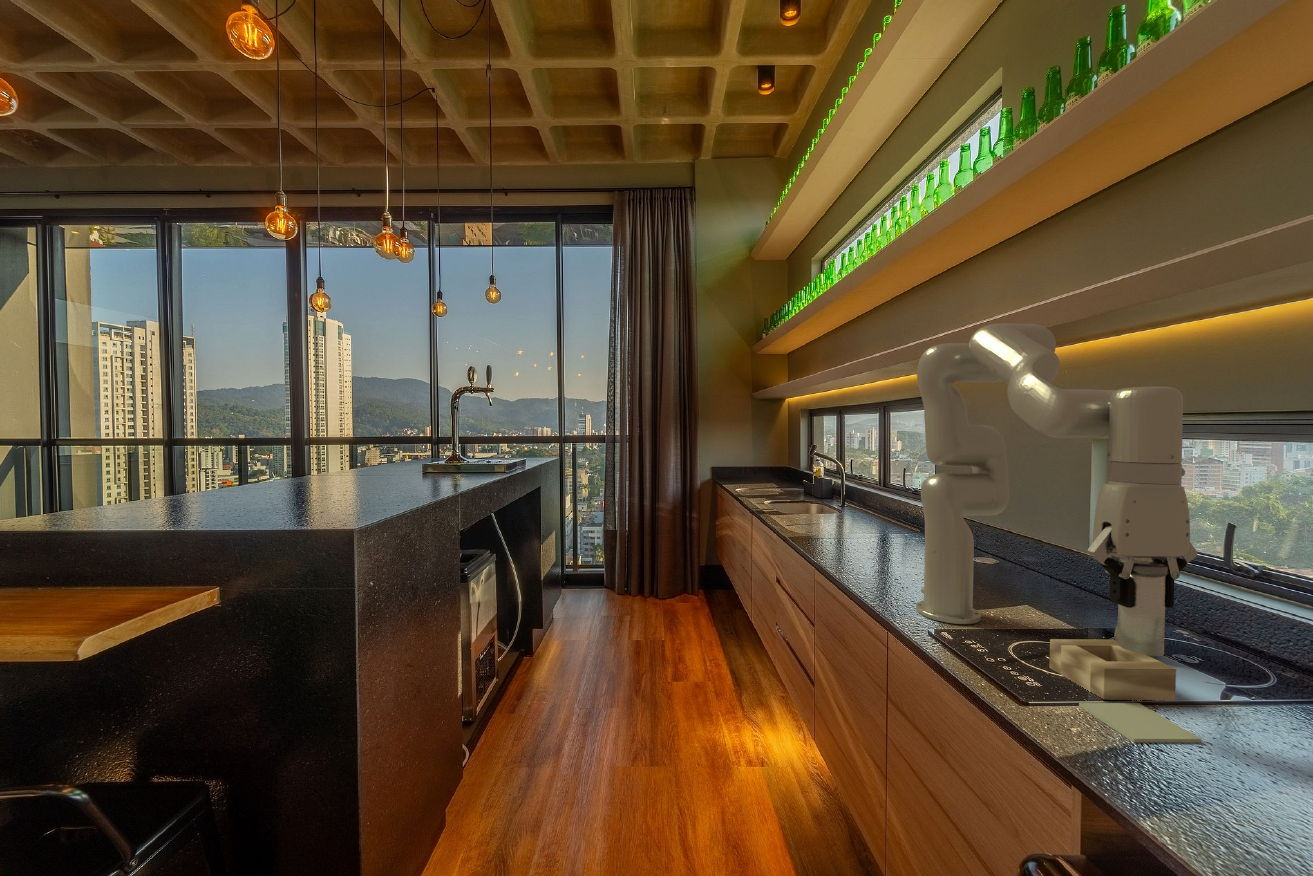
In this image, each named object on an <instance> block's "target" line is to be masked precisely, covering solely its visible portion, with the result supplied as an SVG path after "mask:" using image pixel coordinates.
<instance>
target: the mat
mask: <svg viewBox="0 0 1313 876" xmlns="http://www.w3.org/2000/svg"><path fill="white" fill-rule="evenodd" d="M1078 707H1080V708H1082V710H1084V711H1086V712H1087V713H1089V714H1090V715H1092V716H1093V717H1095V718H1096V719H1097V720H1099V721H1101V722H1103V724H1106V726H1108V727H1110V728H1111V729H1112V730H1114V731H1116V732H1117V733H1119V734H1120V735H1122V736H1123V737H1125V738H1126V739H1128V740H1129V741H1131V742H1132V743H1155V744H1156V743H1159V744H1160V743H1165V744H1166V743H1172V744H1173V743H1174V744H1176V743H1177V744H1178V743H1180V744H1181V743H1183V744H1186V743H1187V744H1188V743H1189V744H1190V743H1191V744H1192V743H1194V744H1195V743H1196V744H1197V743H1199V744H1202V738H1201V737H1198V736H1197V735H1195V734H1193V733H1192V732H1190V731H1188V730H1186V729H1185V728H1183V727H1182V726H1180V725H1178V724H1176V723H1174V722H1173V721H1171V720H1170V719H1167V718H1165V717H1164V716H1161V715H1160V714H1158V713H1157V712H1155V711H1153V710H1152V709H1150V708H1149V707H1146V706H1145V705H1143V704H1142V703H1139V702H1079V703H1078Z"/></svg>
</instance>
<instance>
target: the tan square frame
mask: <svg viewBox="0 0 1313 876" xmlns="http://www.w3.org/2000/svg"><path fill="white" fill-rule="evenodd" d="M1048 665H1049V666H1048V667H1049V668H1050V669H1051V670H1052V671H1054V672H1056V673H1057V674H1059V675H1060V676H1062V677H1064V678H1066V679H1067V680H1068V681H1070V680H1071V682H1072V683H1073V684H1075V683H1076V686H1078V685H1079V686H1078V687H1080V686H1081V687H1080V688H1082V687H1083V688H1084V690H1085V689H1086V690H1085V691H1087V690H1088V691H1089V692H1088V691H1087V692H1088V693H1090V692H1092V693H1093V694H1096V695H1097V696H1099V697H1101V698H1103V699H1108V700H1109V699H1110V700H1132V701H1131V702H1143V701H1142V700H1161V701H1160V702H1176V689H1177V688H1176V686H1177V685H1176V683H1177V669H1176V668H1175V667H1172V666H1170V665H1168V664H1166V663H1164V662H1162V661H1160V660H1157V659H1155V657H1153V658H1151V657H1149V656H1147V655H1144V654H1139V653H1135V652H1132V651H1129V650H1126V649H1124V648H1122V647H1120V646H1119V645H1118V642H1117V641H1115V639H1100V638H1099V639H1095V638H1093V639H1092V638H1091V639H1086V638H1084V639H1082V638H1081V639H1078V638H1075V639H1074V638H1073V639H1072V638H1071V639H1070V638H1069V639H1066V638H1064V639H1063V638H1062V639H1060V638H1058V639H1057V638H1051V639H1050V638H1049V664H1048ZM1083 688H1082V689H1083ZM1093 694H1092V695H1093ZM1134 700H1135V701H1134ZM1136 700H1137V701H1136ZM1140 700H1141V701H1140ZM1163 700H1164V701H1163Z"/></svg>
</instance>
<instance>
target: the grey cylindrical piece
mask: <svg viewBox="0 0 1313 876" xmlns="http://www.w3.org/2000/svg"><path fill="white" fill-rule="evenodd" d="M1121 562H1122V558H1120V559H1119V563H1118V564H1119V565H1120V566H1121ZM1166 575H1168V566H1166V565H1163V564H1160V563H1155V562H1150V561H1144V560H1135V561H1134V564H1133V567H1132V571H1131V574H1130V577H1129V578H1130V579H1134V582H1135V583H1134V606H1133V607H1132V608H1127V607H1124V606H1122V605H1119V604H1117V606H1118V608H1117V609H1118V610H1117V611H1118V612H1117V623H1118V645H1119V646H1120V647H1122V648H1124V649H1126V650H1129V651H1132V652H1135V653H1139V654H1144V655H1152V656H1157V657H1160V656H1163V655H1164V654H1165V629H1166V628H1165V627H1166V626H1165V624H1166V623H1165V621H1166V607H1165V579H1166Z"/></svg>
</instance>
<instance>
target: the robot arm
mask: <svg viewBox="0 0 1313 876" xmlns="http://www.w3.org/2000/svg"><path fill="white" fill-rule="evenodd" d="M1056 347H1057V342H1056V338H1055V335H1054V334H1053V332H1052V331H1051V330H1050V329H1049V328H1047V327H1046V326H1044V325H1041V324H1036V323H1007V322H1005V323H1004V322H1001V323H998V322H997V323H990V324H988V325H987V324H986V325H984V326H982V327H980V328H978V329H977V330H976V331H975V332H974V333H973V334H972V335H971V337H970V339H969V342H948V343H947V342H946V343H939V344H935V345H932V346H931V347H929V348H928V349H926V350H925V351H924V352H923V353H922V354H921V356H920V358H919V362H918V364H917V367H916V368H917V371H916V378H917V381H916V382H917V386H918V390H919V393H920V396H921V397H920V398H921V400H922V404H923V410H924V411H923V413H924V414H923V415H924V416H923V417H924V434H925V450H926V456H927V459H928V460H929V462H930V463H931V464H933V465H936V466H939V467H950V468H952V467H953V468H956V467H957V468H960V467H961V468H962V467H963V468H968V467H969V468H971V470H972V472H943V473H942V472H939V473H935V474H932V475H930V476H928V477H927V478H925V479H924V480H923V482H922V483H921V486H920V500H921V504H922V509H923V518H924V566H923V567H924V572H923V573H924V575H923V577H924V578H923V580H924V581H923V587H921V588H920V592H921V594H923V600H921V601H919V602H916V603H915V604H916V606H915V609H916V612H918V613H919V614H920V615H921V616H923V617H926V618H928V619H930V620H934V621H937V622H941V623H943V622H944V623H948V624H956V625H971V624H977V623H979V622H980V621H981V619H982V615H981V613H980V611H978V610H977V609H975V608H973V606H974V605H973V602H974V601H973V600H974V597H973V596H974V565H975V563H974V561H975V559H974V558H975V557H974V555H975V553H974V551H975V549H974V548H975V545H974V544H975V540H974V539H975V538H974V535H973V532H972V530H971V528H970V526H969V525H968V523H967V522H966V520H965V518H964V517H987V516H988V517H989V516H997V515H1000V514H1001V513H1002V512H1004V511H1005V509H1007V506H1008V504H1009V499H1010V483H1009V482H1010V481H1009V466H1008V452H1007V445H1006V442H1005V438H1004V437H1003V435H1002V433H1001V431H999V430H998V429H996V427H993V426H992V425H988V424H987V425H986V424H970V422H969V419H968V406H967V405H968V404H967V401H966V400H965V398H964V397H963V394H962V393H961V392H960V391H959V389H958V388H957V387H956V386H955V385H954V383H969V384H970V383H971V384H973V383H974V384H975V383H977V384H984V383H985V384H994V383H1000V382H1003V384H1004V383H1005V385H1007V398H1008V402H1009V403H1008V404H1009V406H1010V408H1011V409H1012V411H1013V413H1014V414H1015V415H1016V416H1017V417H1018V418H1019V419H1021V420H1022V421H1024V423H1026V424H1027V425H1028V426H1029V427H1030V428H1032V429H1034V430H1035V431H1037V432H1038V433H1041V434H1043V435H1045V436H1047V437H1050V438H1055V439H1108V458H1107V459H1108V462H1107V463H1108V464H1107V465H1108V466H1107V468H1108V469H1107V470H1108V471H1107V473H1108V475H1107V479H1108V480H1107V483H1102V485H1101V487H1100V490H1099V493H1098V497H1097V500H1096V505H1095V512H1094V520H1093V521H1094V522H1093V530H1092V532H1093V533H1092V543H1091V545H1090V546H1089V547H1088V548H1087V550H1086V552H1087V554H1088V555H1089V556H1090V557H1091V558H1093V560H1095V561H1096V562H1098V564H1099V565H1100V566H1101V567H1102V568H1103V569H1104V572H1105V573H1106V574H1108V575H1109V600H1110V602H1111V603H1114V604H1117V605H1118V604H1119V605H1122V606H1124V607H1127V608H1132V607H1133V606H1134V583H1135V582H1134V579H1130V578H1129V577H1130V574H1131V571H1132V567H1133V564H1134V561H1135V558H1150V562H1155V563H1160V564H1163V565H1166V566H1168V575H1166V579H1165V608H1167V609H1173V608H1174V606H1175V580H1178V579H1179V578H1180V576H1181V573H1180V572H1182V570H1183V569H1185V568H1186V566H1187V564H1188V563H1190V562H1191V561H1192V560H1194V559H1195V558H1197V557H1198V553H1199V552H1198V551H1197V550H1196V548H1195V547H1194V545H1193V544H1192V543H1191V522H1190V521H1191V519H1190V512H1189V511H1190V509H1189V504H1188V499H1187V494H1186V489H1185V486H1182V479H1183V478H1182V477H1184V476H1185V475H1186V470H1185V469H1184V468H1183V467H1182V466H1183V465H1182V461H1183V425H1184V423H1183V420H1184V419H1183V418H1184V417H1183V416H1184V397H1183V396H1184V395H1183V393H1182V391H1180V390H1179V389H1178V388H1176V387H1171V386H1162V385H1161V386H1153V385H1152V386H1137V387H1135V386H1131V387H1123V388H1119V389H1095V388H1094V389H1090V388H1089V389H1086V388H1085V389H1081V388H1073V389H1072V388H1071V389H1070V388H1069V389H1065V388H1059V387H1057V386H1055V385H1054V384H1052V382H1053V381H1054V380H1055V378H1056V377H1057V376H1058V374H1059V372H1060V367H1061V362H1060V359H1059V356H1058V355H1057V354H1056V353H1055V352H1056V349H1057V348H1056ZM1107 552H1109V553H1107ZM1119 559H1122V562H1121V566H1120V565H1119V564H1118V563H1119Z"/></svg>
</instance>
